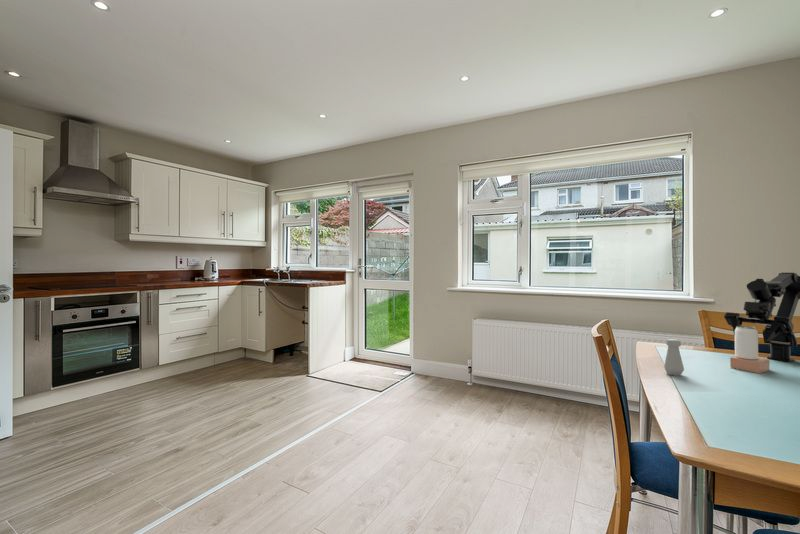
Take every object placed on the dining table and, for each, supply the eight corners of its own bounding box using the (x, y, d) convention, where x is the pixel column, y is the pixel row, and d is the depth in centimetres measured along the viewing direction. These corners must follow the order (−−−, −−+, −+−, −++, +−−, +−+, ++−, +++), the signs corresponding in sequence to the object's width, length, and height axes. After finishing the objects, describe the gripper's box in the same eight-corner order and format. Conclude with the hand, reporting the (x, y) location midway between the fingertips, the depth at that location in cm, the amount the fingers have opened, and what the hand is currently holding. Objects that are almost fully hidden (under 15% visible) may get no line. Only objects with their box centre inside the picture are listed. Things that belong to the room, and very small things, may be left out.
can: (747, 360, 133) (747, 328, 133) (730, 356, 140) (729, 325, 140) (763, 359, 134) (762, 328, 134) (745, 355, 140) (744, 325, 140)
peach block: (740, 364, 142) (740, 354, 142) (769, 370, 134) (769, 359, 134) (730, 367, 138) (730, 357, 138) (759, 373, 130) (759, 362, 130)
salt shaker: (688, 376, 128) (687, 341, 128) (672, 377, 128) (671, 341, 128) (675, 371, 134) (675, 337, 134) (660, 372, 134) (660, 337, 134)
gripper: (725, 292, 147) (712, 321, 142) (789, 295, 130) (777, 328, 125) (735, 310, 151) (722, 339, 146) (798, 315, 134) (787, 348, 129)
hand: (750, 338), depth 136 cm, fingers open, 9 cm apart
